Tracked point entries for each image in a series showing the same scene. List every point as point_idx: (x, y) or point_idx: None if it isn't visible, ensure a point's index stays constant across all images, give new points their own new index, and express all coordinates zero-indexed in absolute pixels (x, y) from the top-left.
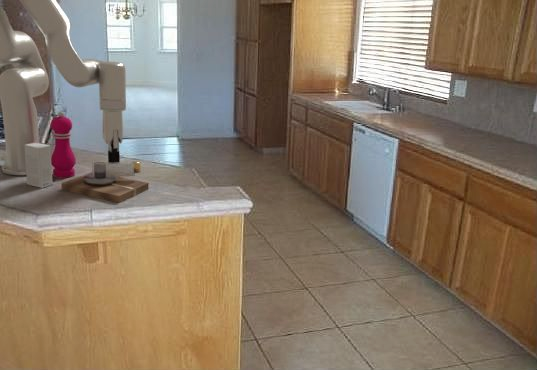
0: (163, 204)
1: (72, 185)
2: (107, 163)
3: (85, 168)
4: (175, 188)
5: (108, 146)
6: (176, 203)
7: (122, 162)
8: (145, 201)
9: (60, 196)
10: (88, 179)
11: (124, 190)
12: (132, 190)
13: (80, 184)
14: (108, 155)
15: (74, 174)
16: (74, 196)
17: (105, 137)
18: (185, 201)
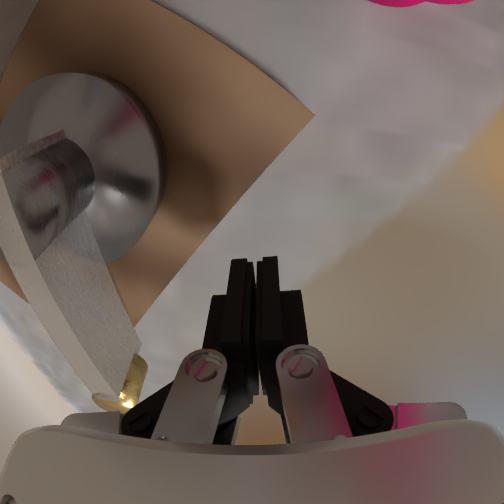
0: (19, 339)
1: (21, 33)
2: (27, 275)
3: (487, 94)
4: (146, 393)
5: (308, 380)
6: (37, 362)
7: (83, 357)
8: (17, 307)
9: (7, 8)
10: (12, 118)
11: (8, 272)
12: (23, 296)
13: (31, 68)
14: (261, 303)
15: (372, 1)
16: (2, 62)
17: (34, 499)
18: (56, 380)
